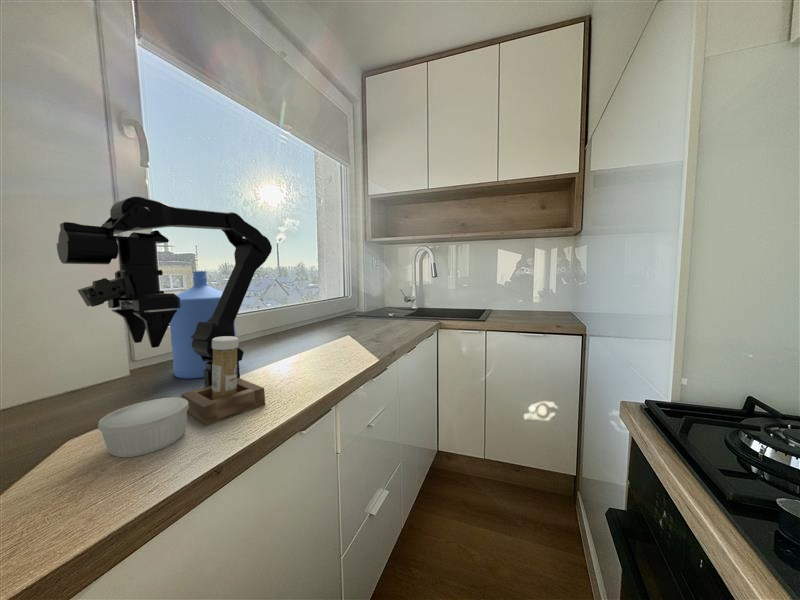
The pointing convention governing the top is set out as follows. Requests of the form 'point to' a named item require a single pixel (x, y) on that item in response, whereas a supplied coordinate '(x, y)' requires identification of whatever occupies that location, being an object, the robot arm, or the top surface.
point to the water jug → (192, 326)
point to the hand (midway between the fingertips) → (146, 344)
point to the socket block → (223, 402)
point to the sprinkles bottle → (224, 366)
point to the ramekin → (144, 426)
